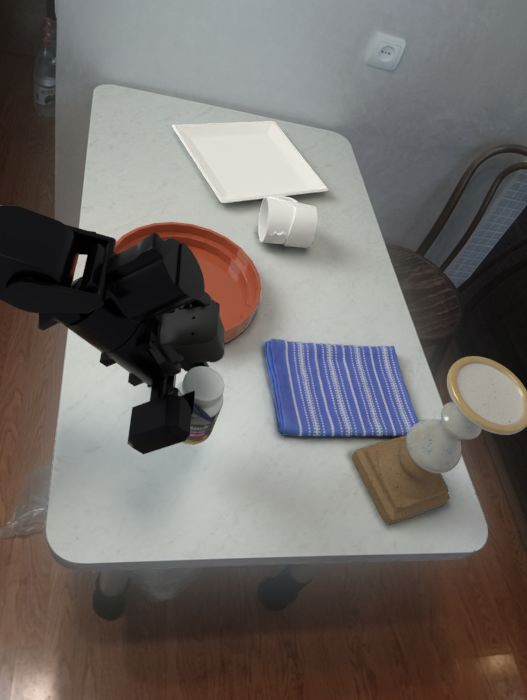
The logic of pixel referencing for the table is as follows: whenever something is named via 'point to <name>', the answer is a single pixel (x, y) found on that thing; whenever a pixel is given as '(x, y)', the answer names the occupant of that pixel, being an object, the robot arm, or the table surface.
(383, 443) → the candle holder
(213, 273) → the bowl
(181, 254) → the robot arm
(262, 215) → the mug
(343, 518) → the table surface
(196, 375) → the pill bottle
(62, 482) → the table surface
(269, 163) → the plate
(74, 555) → the table surface
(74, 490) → the table surface
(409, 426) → the dish towel
